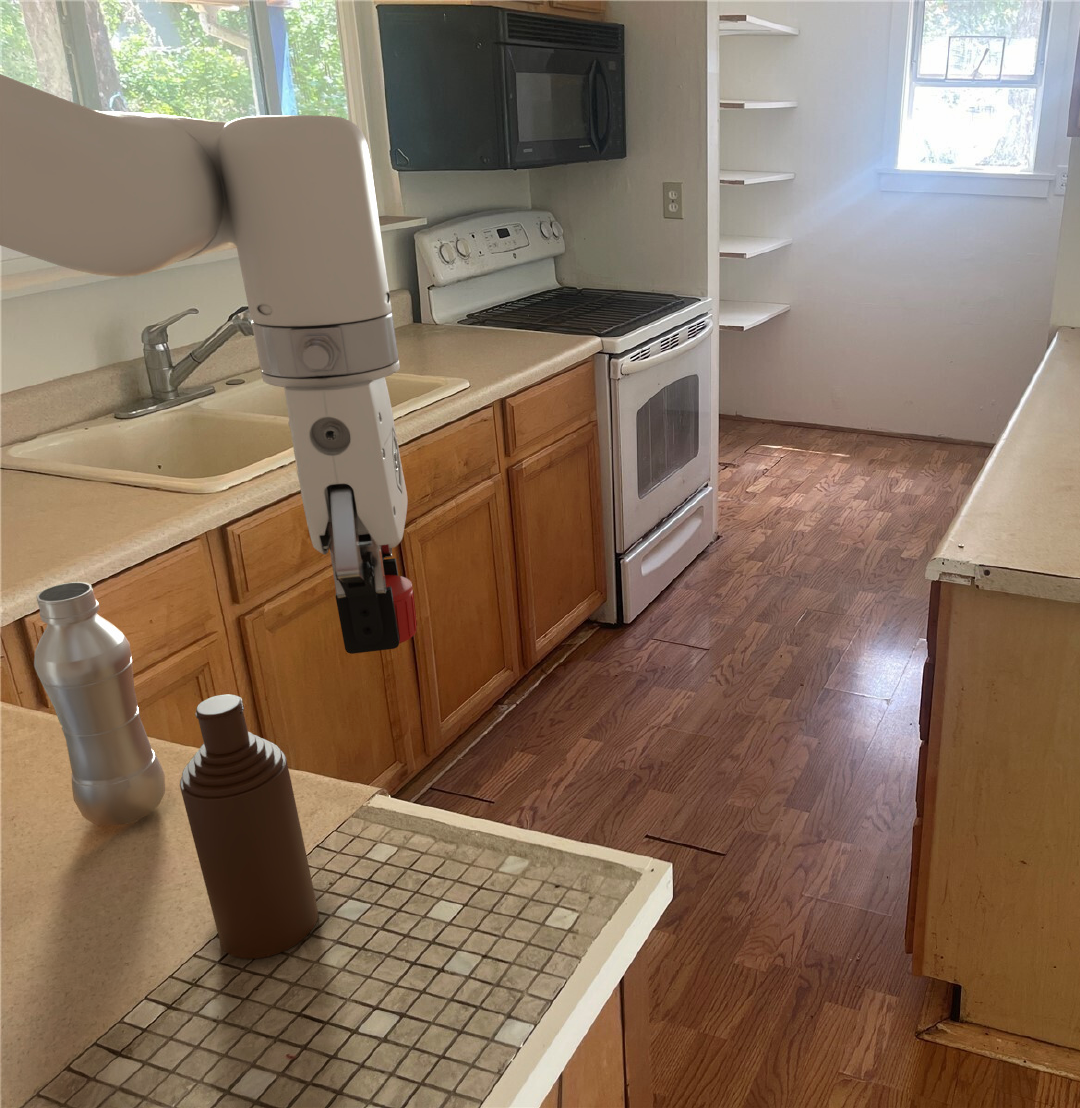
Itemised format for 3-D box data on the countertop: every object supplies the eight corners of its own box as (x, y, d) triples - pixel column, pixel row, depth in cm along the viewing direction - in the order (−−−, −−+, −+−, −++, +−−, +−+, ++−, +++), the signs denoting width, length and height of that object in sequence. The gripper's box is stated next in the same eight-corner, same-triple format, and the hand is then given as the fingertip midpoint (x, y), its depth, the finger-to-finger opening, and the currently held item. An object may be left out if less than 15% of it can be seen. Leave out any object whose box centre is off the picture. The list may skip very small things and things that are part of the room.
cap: (427, 623, 68) (423, 577, 67) (399, 650, 65) (393, 602, 63) (372, 617, 69) (366, 571, 68) (340, 644, 65) (334, 596, 64)
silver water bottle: (141, 780, 89) (82, 567, 82) (189, 804, 86) (132, 585, 78) (64, 820, 84) (-6, 598, 77) (112, 847, 81) (43, 618, 73)
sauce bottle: (267, 971, 69) (211, 740, 62) (199, 942, 72) (138, 718, 65) (338, 909, 74) (294, 691, 68) (272, 884, 77) (224, 671, 70)
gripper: (387, 375, 53) (433, 688, 60) (404, 320, 68) (439, 576, 75) (228, 385, 51) (295, 706, 58) (281, 326, 66) (329, 587, 73)
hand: (375, 630), depth 67 cm, fingers closed on cap, 3 cm apart
